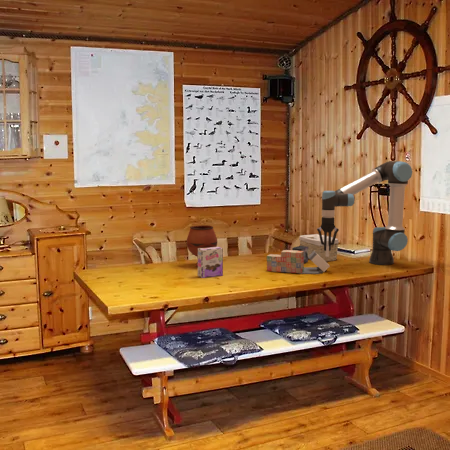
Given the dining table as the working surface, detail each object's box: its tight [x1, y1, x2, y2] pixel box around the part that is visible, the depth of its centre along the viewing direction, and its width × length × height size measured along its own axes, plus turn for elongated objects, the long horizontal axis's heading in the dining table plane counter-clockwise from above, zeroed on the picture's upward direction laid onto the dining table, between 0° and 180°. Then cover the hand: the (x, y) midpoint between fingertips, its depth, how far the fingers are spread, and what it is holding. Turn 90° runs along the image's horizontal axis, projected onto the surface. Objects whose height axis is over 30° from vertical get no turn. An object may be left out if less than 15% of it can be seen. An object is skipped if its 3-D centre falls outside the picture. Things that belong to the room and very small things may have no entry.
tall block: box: [308, 251, 330, 273], centre depth 344 cm, size 5×6×12 cm
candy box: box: [197, 246, 224, 279], centre depth 333 cm, size 14×6×16 cm, turn 117°
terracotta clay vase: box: [186, 224, 218, 268], centre depth 360 cm, size 19×19×25 cm
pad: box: [299, 266, 324, 275], centre depth 345 cm, size 14×16×1 cm
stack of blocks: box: [266, 249, 305, 274], centre depth 343 cm, size 21×6×12 cm, turn 66°
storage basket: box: [298, 233, 340, 262], centre depth 382 cm, size 24×16×15 cm
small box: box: [291, 245, 309, 264], centre depth 368 cm, size 11×6×10 cm, turn 143°
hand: (327, 256), depth 343 cm, fingers closed
